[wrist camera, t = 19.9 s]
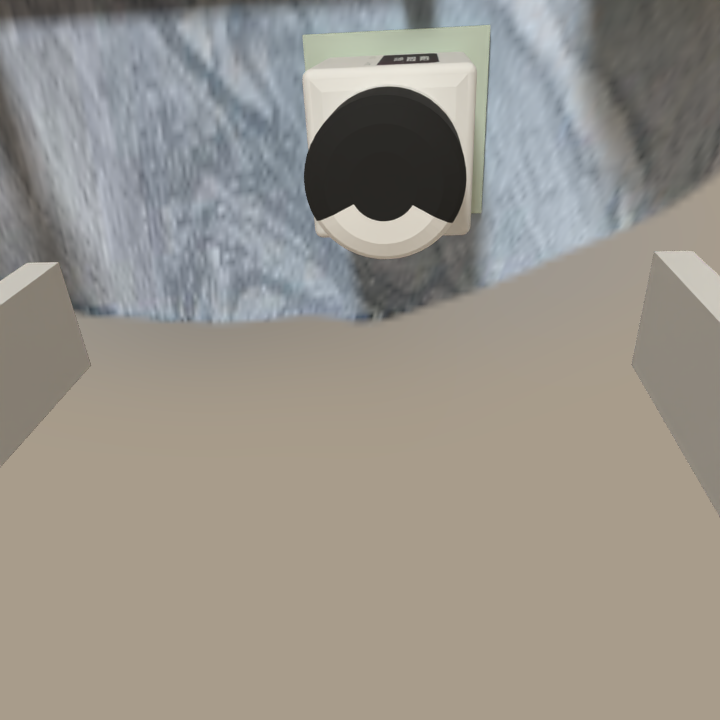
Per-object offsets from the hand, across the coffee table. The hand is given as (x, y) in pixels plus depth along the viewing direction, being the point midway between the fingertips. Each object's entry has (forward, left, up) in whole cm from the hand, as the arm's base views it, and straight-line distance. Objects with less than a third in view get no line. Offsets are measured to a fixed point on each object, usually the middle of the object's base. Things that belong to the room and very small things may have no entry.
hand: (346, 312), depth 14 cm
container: (0, 0, -25) cm, 25 cm away
